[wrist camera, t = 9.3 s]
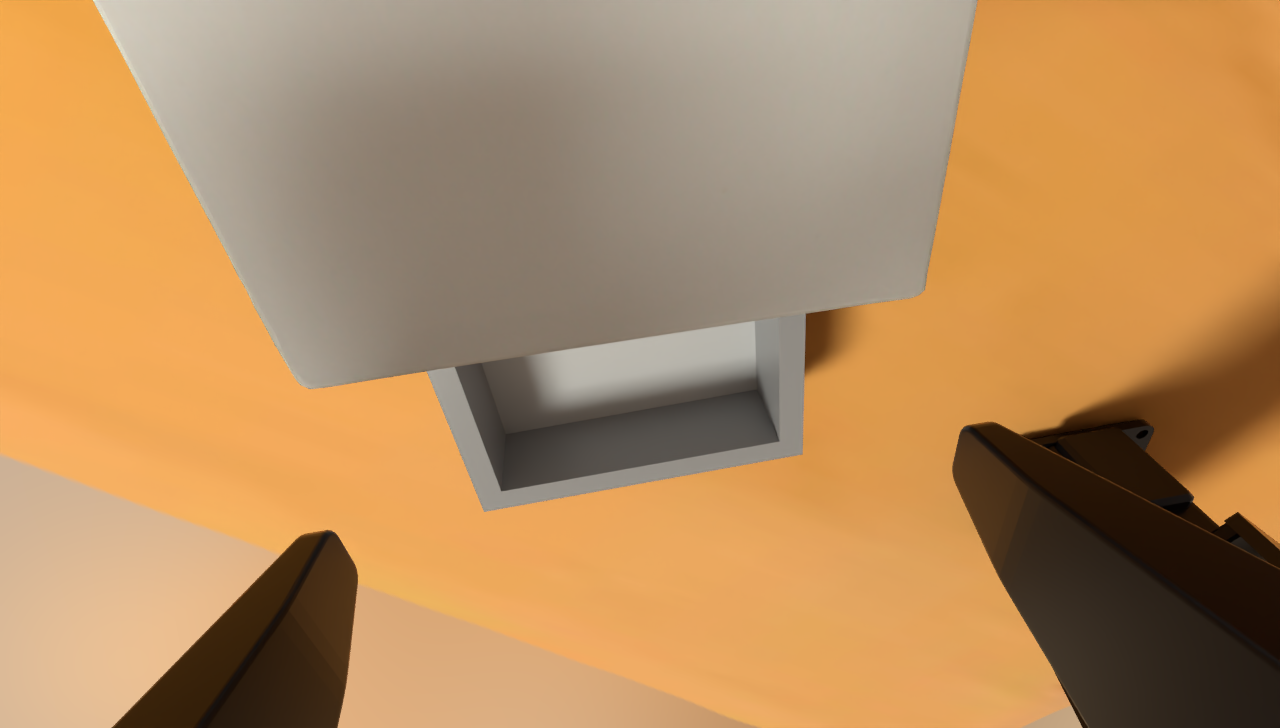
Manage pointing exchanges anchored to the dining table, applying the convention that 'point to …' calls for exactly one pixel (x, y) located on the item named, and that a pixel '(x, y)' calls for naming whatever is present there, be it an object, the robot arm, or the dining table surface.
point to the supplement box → (551, 163)
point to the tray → (627, 410)
